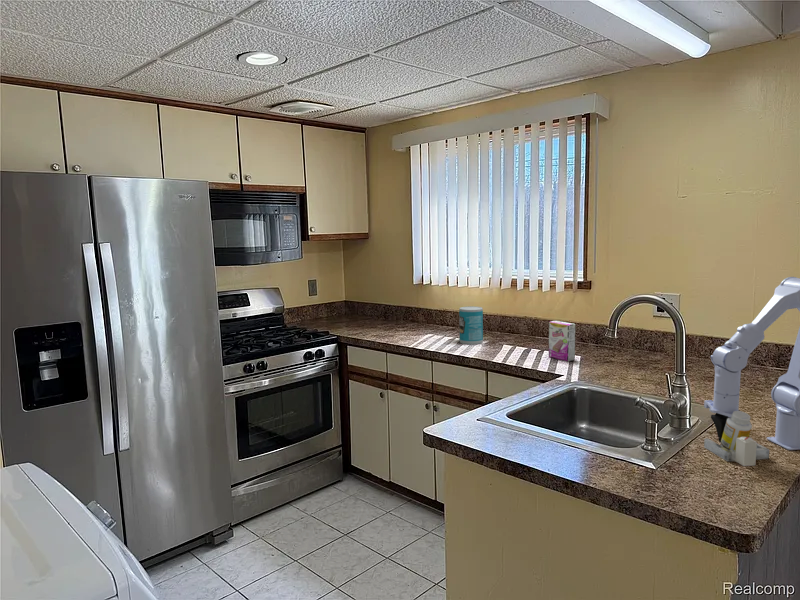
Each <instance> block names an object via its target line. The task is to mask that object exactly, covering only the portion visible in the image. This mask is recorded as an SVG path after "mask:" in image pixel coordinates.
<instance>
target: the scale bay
mask: <svg viewBox="0 0 800 600" xmlns="http://www.w3.org/2000/svg"><path fill="white" fill-rule="evenodd" d="M703 440H704V441H703V443H704V445H703V448H705V450H707V451H709V452H711V453H713V454H715V455H716V456H717V457H719V458H721V459H723V460H725V461H726V462H728V463H729V462H736V461H735V455H736V450H727V449H726V448H724V447H722V446H721V444H719V443H717V442H715V441H714V440H712V439H710V438H703ZM769 459H770V449H769V448H767V447H766V446H764V445H762V444H759V443H758V442H757V447H756V460H769Z"/></svg>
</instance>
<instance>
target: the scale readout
mask: <svg viewBox="0 0 800 600" xmlns="http://www.w3.org/2000/svg"><path fill="white" fill-rule="evenodd" d="M757 443H758V442H757V441H756V440H755V439H753V438H752V437H750V436H749V437H740V438H736V455H735V461H734V462H736V463H738V464H739V465H741V466H743V467H753V466H756V464H757V463H756V447H757Z"/></svg>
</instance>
